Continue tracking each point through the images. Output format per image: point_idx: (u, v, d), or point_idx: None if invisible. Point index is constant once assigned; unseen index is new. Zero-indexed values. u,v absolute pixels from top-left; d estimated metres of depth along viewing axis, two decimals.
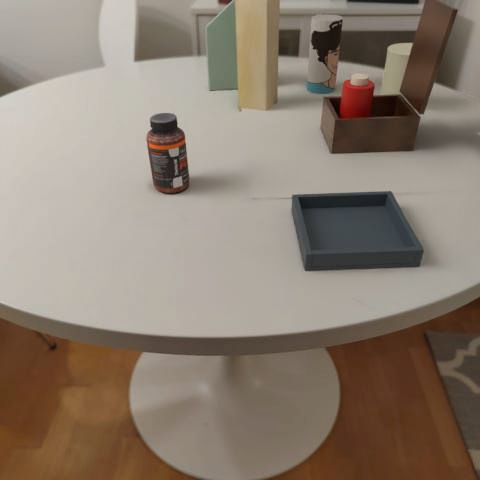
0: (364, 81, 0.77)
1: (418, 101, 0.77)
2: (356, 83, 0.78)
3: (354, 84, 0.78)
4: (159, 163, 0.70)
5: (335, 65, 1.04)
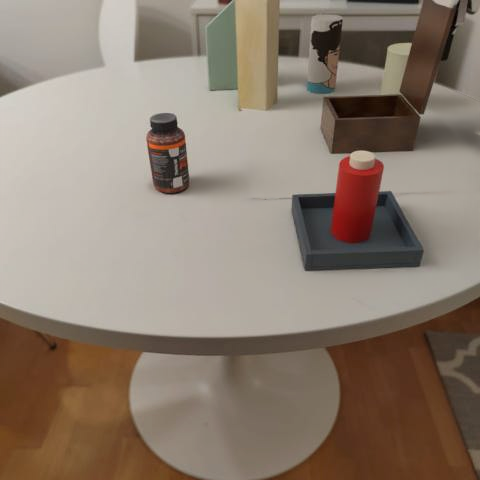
0: (369, 164, 0.55)
1: (418, 101, 0.77)
2: (358, 166, 0.55)
3: (355, 167, 0.55)
4: (159, 163, 0.70)
5: (335, 65, 1.04)
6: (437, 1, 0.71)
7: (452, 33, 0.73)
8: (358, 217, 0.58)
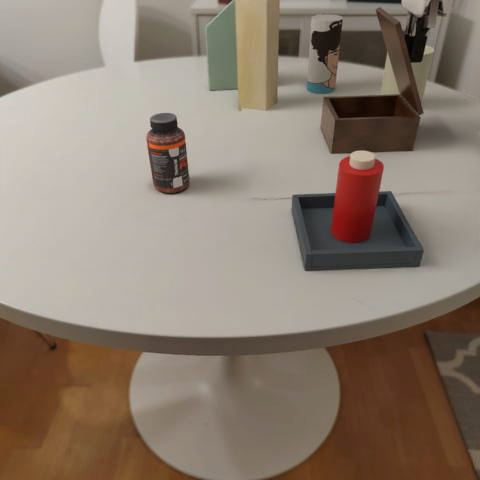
0: (369, 164, 0.55)
1: (413, 103, 0.77)
2: (358, 166, 0.55)
3: (355, 167, 0.55)
4: (159, 163, 0.70)
5: (335, 65, 1.04)
6: (409, 3, 0.71)
7: (425, 35, 0.73)
8: (358, 217, 0.58)
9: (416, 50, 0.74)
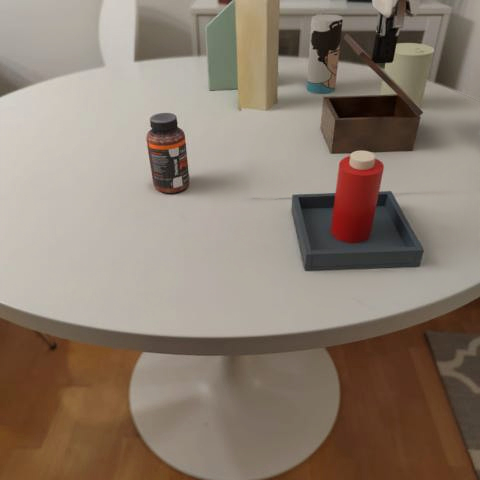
0: (369, 164, 0.55)
1: None
2: (358, 166, 0.55)
3: (355, 167, 0.55)
4: (159, 163, 0.70)
5: (335, 65, 1.04)
6: (378, 3, 0.71)
7: (395, 35, 0.73)
8: (358, 217, 0.58)
9: (387, 50, 0.74)
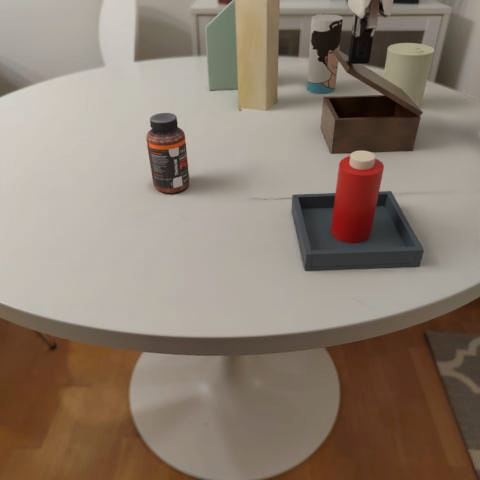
0: (369, 164, 0.55)
1: None
2: (358, 166, 0.55)
3: (355, 167, 0.55)
4: (159, 163, 0.70)
5: (335, 65, 1.04)
6: (353, 4, 0.71)
7: (370, 36, 0.72)
8: (358, 217, 0.58)
9: (362, 51, 0.74)
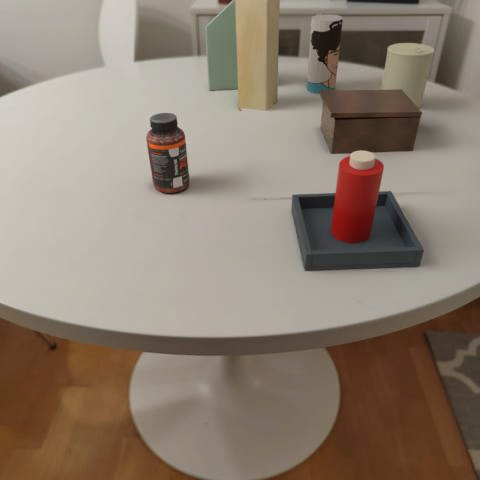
0: (369, 164, 0.55)
1: None
2: (358, 166, 0.55)
3: (355, 167, 0.55)
4: (159, 163, 0.70)
5: (335, 65, 1.04)
6: None
7: None
8: (358, 217, 0.58)
9: None
